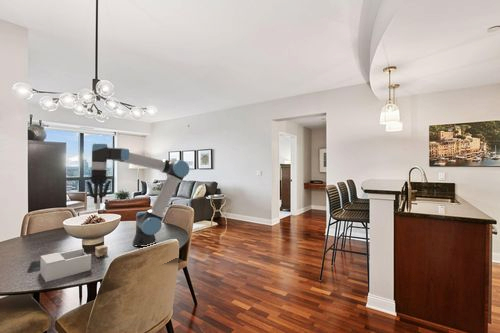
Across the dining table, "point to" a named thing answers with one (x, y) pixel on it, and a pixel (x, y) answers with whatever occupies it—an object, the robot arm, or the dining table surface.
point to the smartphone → (34, 267)
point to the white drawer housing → (64, 264)
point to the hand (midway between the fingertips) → (97, 208)
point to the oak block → (101, 250)
